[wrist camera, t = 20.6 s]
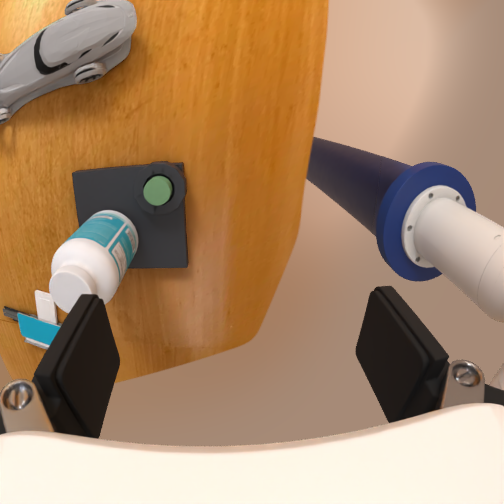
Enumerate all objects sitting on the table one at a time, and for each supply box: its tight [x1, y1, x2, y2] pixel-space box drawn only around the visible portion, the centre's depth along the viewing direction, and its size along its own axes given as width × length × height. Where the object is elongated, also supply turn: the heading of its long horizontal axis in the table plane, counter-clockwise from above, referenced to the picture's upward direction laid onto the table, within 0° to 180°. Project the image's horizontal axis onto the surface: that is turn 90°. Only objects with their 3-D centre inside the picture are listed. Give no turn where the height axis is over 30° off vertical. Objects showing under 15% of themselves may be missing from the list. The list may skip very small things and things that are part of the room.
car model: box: [0, 0, 137, 124], centre depth 25 cm, size 11×24×5 cm, turn 101°
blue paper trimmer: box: [3, 290, 62, 349], centre depth 42 cm, size 20×12×2 cm, turn 74°
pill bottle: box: [49, 210, 138, 313], centre depth 30 cm, size 8×7×14 cm
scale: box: [72, 161, 188, 268], centre depth 35 cm, size 14×13×3 cm
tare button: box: [144, 176, 172, 205], centre depth 33 cm, size 3×3×2 cm
